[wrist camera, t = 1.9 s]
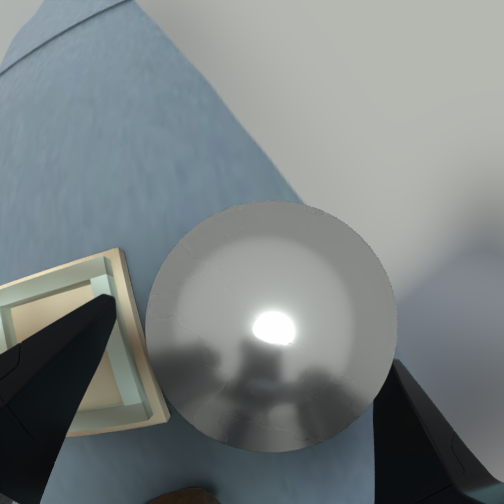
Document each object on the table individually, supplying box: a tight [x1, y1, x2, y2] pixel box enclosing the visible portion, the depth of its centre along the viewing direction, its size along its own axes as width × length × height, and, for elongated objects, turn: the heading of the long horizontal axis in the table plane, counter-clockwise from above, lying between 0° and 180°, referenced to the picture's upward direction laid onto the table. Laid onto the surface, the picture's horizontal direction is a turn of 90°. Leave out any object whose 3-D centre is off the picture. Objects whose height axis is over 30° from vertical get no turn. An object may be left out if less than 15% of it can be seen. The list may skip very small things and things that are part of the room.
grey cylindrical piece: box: [145, 200, 398, 453], centre depth 12 cm, size 5×5×12 cm
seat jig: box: [0, 247, 170, 437], centre depth 15 cm, size 10×10×2 cm
